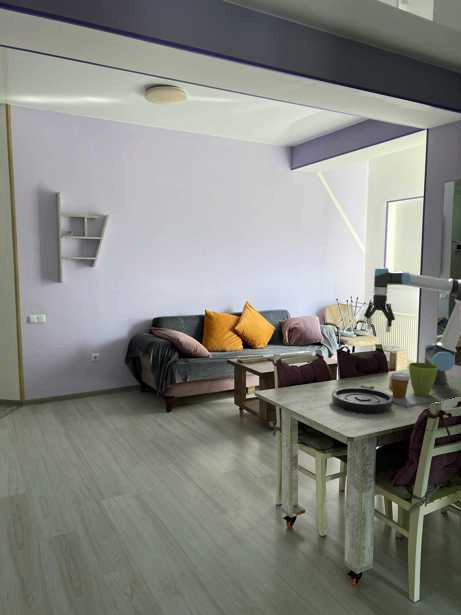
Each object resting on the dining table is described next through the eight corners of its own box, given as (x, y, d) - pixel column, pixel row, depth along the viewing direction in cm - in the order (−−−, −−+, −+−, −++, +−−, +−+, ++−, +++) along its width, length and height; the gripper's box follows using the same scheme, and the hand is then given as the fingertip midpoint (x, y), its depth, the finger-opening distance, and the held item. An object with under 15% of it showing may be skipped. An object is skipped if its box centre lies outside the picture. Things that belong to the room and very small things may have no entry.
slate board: (402, 394, 260) (402, 392, 260) (428, 402, 247) (428, 400, 247) (380, 399, 250) (380, 397, 250) (407, 407, 237) (407, 405, 237)
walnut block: (365, 392, 263) (365, 383, 262) (373, 394, 259) (374, 385, 259) (360, 394, 259) (360, 385, 259) (368, 396, 256) (369, 387, 255)
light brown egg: (392, 386, 277) (393, 374, 276) (400, 388, 273) (400, 376, 272) (387, 387, 274) (387, 375, 273) (394, 389, 270) (395, 377, 269)
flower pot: (439, 399, 253) (441, 369, 251) (409, 396, 256) (411, 367, 254) (433, 391, 268) (434, 363, 266) (405, 389, 270) (406, 361, 269)
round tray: (368, 395, 258) (320, 400, 248) (368, 384, 258) (320, 388, 247) (406, 412, 231) (354, 418, 220) (407, 400, 230) (355, 406, 219)
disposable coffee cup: (409, 396, 254) (411, 374, 253) (407, 400, 246) (408, 377, 245) (391, 393, 259) (392, 371, 257) (387, 397, 250) (389, 375, 249)
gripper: (359, 293, 285) (357, 328, 287) (394, 296, 265) (392, 334, 267) (367, 292, 289) (365, 327, 292) (402, 295, 269) (400, 333, 271)
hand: (378, 330), depth 279 cm, fingers open, 13 cm apart
